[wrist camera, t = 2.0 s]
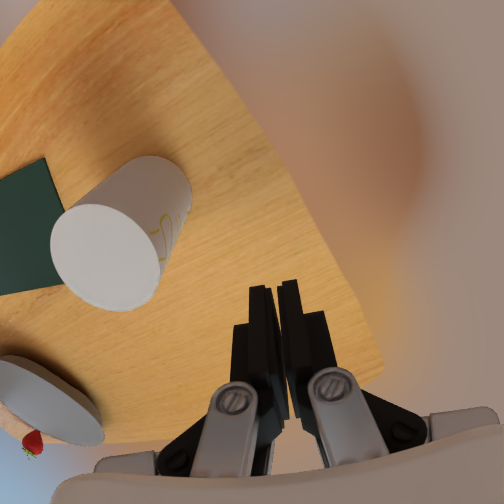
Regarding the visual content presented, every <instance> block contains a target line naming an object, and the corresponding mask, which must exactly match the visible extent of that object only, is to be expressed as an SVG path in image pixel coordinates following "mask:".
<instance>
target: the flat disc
mask: <svg viewBox="0 0 504 504" xmlns="http://www.w3.org/2000/svg"><path fill="white" fill-rule="evenodd" d="M0 401H1V402H2V403H3V404H4V405H5V406H6V407H7V408H8V409H9V410H10V411H11V412H13V413H14V414H15V415H16V416H18V417H19V418H20V419H22V420H23V421H24V422H26V423H27V424H29V425H30V426H32V427H34V428H35V429H37V430H39V431H41V432H43V433H45V434H47V435H49V436H51V437H53V438H56V439H58V440H61V441H64V442H67V443H70V444H75V445H80V446H96V445H99V444H101V443H102V442H103V441H104V439H105V435H104V431H103V429H102V419H101V416H100V413H99V412H98V411H97V408H96V407H95V406H94V404H93V402H91V401H90V400H89V399H88V398H87V397H86V396H85V395H84V394H83V393H81V392H80V391H78V390H77V389H75V388H73V387H72V386H70V385H68V384H67V383H66V382H64V381H63V380H62V379H60V378H59V377H58V376H56V375H54V374H52V373H51V372H50V371H48V370H46V369H45V368H44V367H42V366H40V365H38V364H37V363H35V362H33V361H30V360H28V359H27V358H23V357H20V356H18V357H17V356H15V355H4V356H0Z"/></svg>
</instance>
